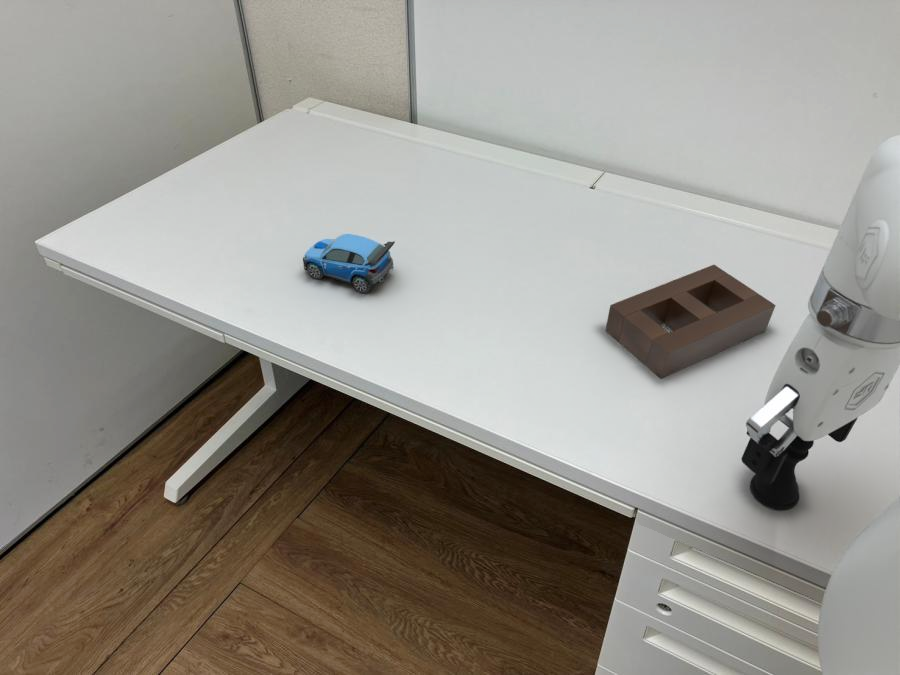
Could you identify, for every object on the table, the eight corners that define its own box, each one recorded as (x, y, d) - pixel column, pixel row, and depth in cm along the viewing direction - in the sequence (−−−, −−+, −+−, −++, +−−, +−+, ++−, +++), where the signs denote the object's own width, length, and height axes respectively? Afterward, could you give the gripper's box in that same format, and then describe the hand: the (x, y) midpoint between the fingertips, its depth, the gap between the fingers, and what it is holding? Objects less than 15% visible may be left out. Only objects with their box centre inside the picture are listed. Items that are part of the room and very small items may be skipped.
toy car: (322, 253, 98) (317, 218, 94) (398, 274, 94) (397, 238, 91) (299, 276, 94) (293, 239, 90) (378, 298, 90) (375, 261, 87)
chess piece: (784, 471, 69) (819, 400, 63) (807, 508, 66) (846, 437, 60) (741, 475, 69) (773, 404, 62) (762, 512, 66) (797, 442, 59)
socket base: (765, 330, 86) (775, 305, 83) (661, 379, 79) (668, 352, 77) (706, 289, 92) (714, 264, 90) (605, 330, 86) (610, 304, 83)
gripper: (834, 371, 47) (758, 522, 58) (984, 293, 53) (890, 442, 65) (747, 310, 52) (693, 460, 63) (894, 245, 58) (821, 391, 70)
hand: (793, 450), depth 64 cm, fingers open, 9 cm apart
